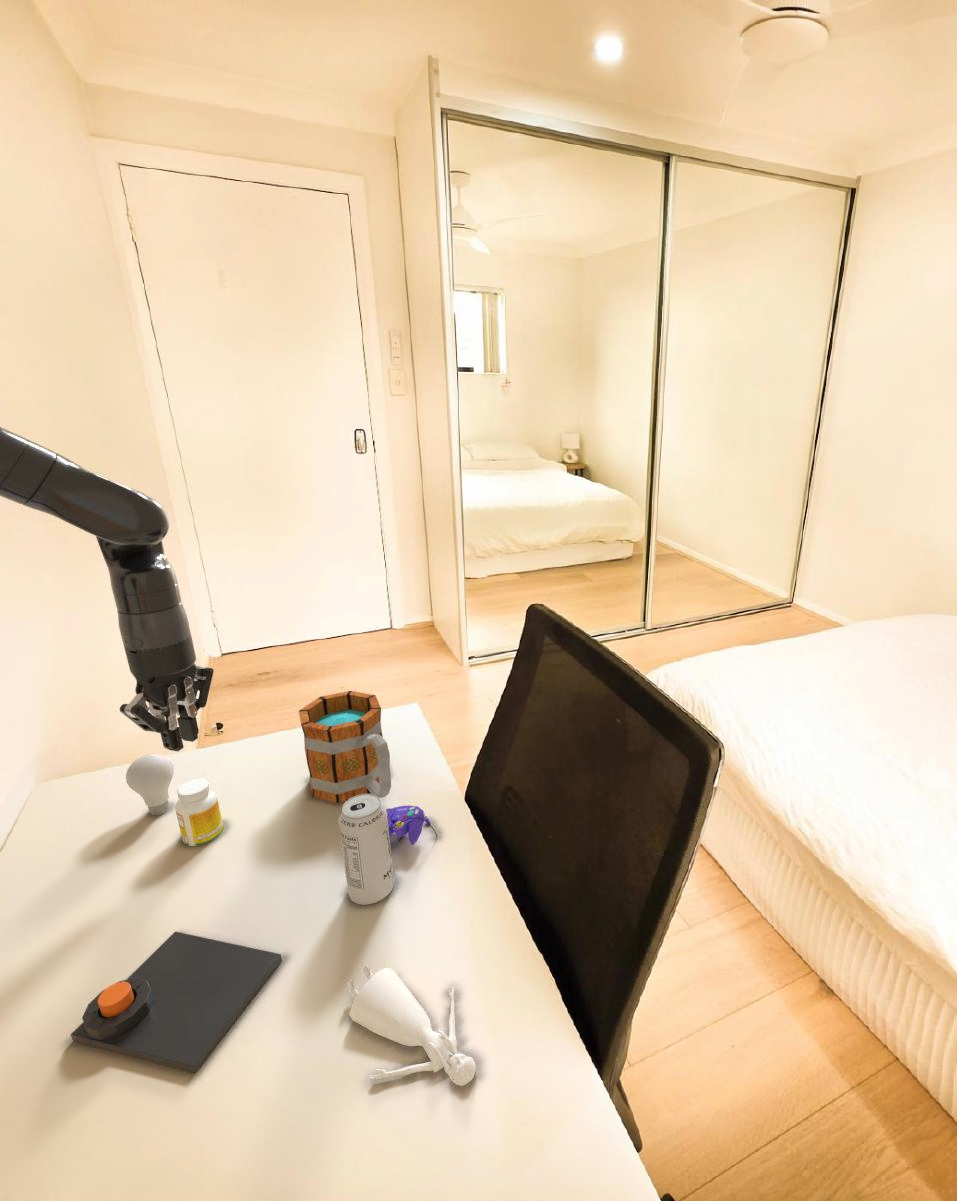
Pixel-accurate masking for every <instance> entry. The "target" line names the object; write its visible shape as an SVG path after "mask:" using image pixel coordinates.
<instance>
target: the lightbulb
mask: <svg viewBox="0 0 957 1201" xmlns="http://www.w3.org/2000/svg"><path fill="white" fill-rule="evenodd" d="M174 774H175V767H174V763H173V762H172V761H171V760H170V758H168V757H167V756H165V755H164V754H158V753H150V754H145V755H143V756H140V757H138V758H136V760H134V761H132V763H131V764H130V765H129V767H128V769H127V770H126V773H125V780H126V784H127V786H128V787H129V788H130V789H131V790H132V791H134V792H135V793H136V794H138V795H139V796H140V797H141V798H142V799H143V801H144V804H145V806H147V808H148V810H149V813H150V815H151V816H160V815H163V814H165V813H166V812H168V811H169V810H170V802H169V798H170V793H169V789H170V784H171V782H172V780H173V777H174Z"/></svg>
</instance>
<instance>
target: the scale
mask: <svg viewBox="0 0 957 1201" xmlns="http://www.w3.org/2000/svg"><path fill="white" fill-rule="evenodd" d="M282 958H283V957H282V954H281V953H277V952H272V951H267V950H263V949H259V948H254V947H250V946H245V945H239V944H235V943H230V942H226V941H221V940H217V939H212V938H207V937H203V936H198V935H193V934H189V933H184V932H180V931H174V932H173V933H172V934H171V935H170V936H169V937H168V938H167V939H166V940H165V941H164V942H163V943H162V944H160V946H159V947H157V949H156V950H155V951H153V952H152V953H151V955H150V956H149V957H147V958H146V959H145V960H144V962H143V963H141V965H139V967H137V969H135V971H133V972H132V973H131V975H129V976H128V977H127V978H126V979H123V980H119V981H117V982H116V983H118V982H128V983H129V984H130V986H131V989H132V992H133V995H134V1000H133V1003H132V1004H131V1006H130V1007H129V1008H128V1009H127V1010H126V1011H124V1012H122V1013H121V1014H119V1015H117V1016H115V1017H110V1018H107V1017H104V1016H103V1015H102V1014H101V1011H100V1008H99V1005H98V998H99V996H100V995H101V993H102V992H103V991H104V990H105V989H107V988H108V987H106V988H105V989H103V990H102V991H100V992H99V994H97V995H96V996H95V997H94V998H93V999H92V1000H90V1002H89V1003H88V1005H87V1007H86V1008H85V1010H84V1013H83V1015H82V1016H81V1017H82V1018H81V1019H82V1021H83V1022H81V1024H80V1025H79V1026H77V1028H76V1029H74V1030H73V1031H72V1032H71V1033H70V1037H71V1040H72V1042H73V1043H75V1044H80V1045H84V1046H87V1047H90V1048H91V1047H92V1048H95V1049H99V1050H103V1051H106V1052H111V1053H114V1054H118V1055H122V1056H126V1057H129V1058H134V1059H137V1060H142V1061H145V1062H149V1063H153V1064H157V1065H159V1066H160V1065H161V1066H164V1067H168V1068H172V1069H176V1070H179V1071H180V1070H181V1071H183V1072H188V1073H190V1074H196V1073H198V1070H199V1069H200V1068H201V1067H202V1066H203V1064H204V1063H205V1061H206V1060H207V1059H208V1058H209V1056H210V1055H211V1054H212V1052H214V1050H215V1048H216V1047H217V1046H218V1045H219V1044H220V1042H221V1041H222V1040H223V1038H224V1037H225V1036H226V1035H227V1033H228V1032H229V1031H230V1029H231V1028H232V1027H233V1026H234V1024H235V1023H236V1021H237V1020H238V1019H239V1018H240V1016H241V1015H242V1014H243V1012H244V1011H245V1010H246V1009H247V1007H248V1006H249V1005H250V1003H251V1002H252V1001H253V999H254V998H255V997H256V996H257V994H258V993H259V992H260V991H261V989H262V988H263V986H264V985H265V984H266V983H267V982H268V980H269V979H270V977H271V976H272V975H273V973H274V972H275V971H276V970H277V968H278V967H279V966H280V964H281V963H282V962H283V959H282Z"/></svg>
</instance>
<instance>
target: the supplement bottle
mask: <svg viewBox="0 0 957 1201" xmlns="http://www.w3.org/2000/svg"><path fill="white" fill-rule="evenodd" d="M176 793H177V798H178V800H177V802H176V803H175V807H174V808H175V814H176V818H177V823H178V827H179V832H180V835H181V840H182V842H183V844H184V845H186V846H189V847H196V846H202V845H205V844H207V843H208V844H209V843H210V842H212V841H215V839H217V838H218V837H220V836H221V834H222V833H223V831H224V824H223V819H222V814H221V813H222V812H221V809H220V804H219V799H218V795H217V793H216V792H215V791H214V790H212V789H211V785H210V782H209V781H208V780H207V779H205V778H194V779H191V780H188V781H186V782H184V783H183V784H181V785H180V786H179V787H178V788H177V791H176Z"/></svg>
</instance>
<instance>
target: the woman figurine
mask: <svg viewBox="0 0 957 1201" xmlns="http://www.w3.org/2000/svg"><path fill="white" fill-rule="evenodd" d="M363 972H364V975H365V977H366V978H367V979H368V980H367V981H366V982H365V983H364V985H362V987H361V988H360V989H357V988H356V986H355V984H354V981H353V979H350V980H349V981H348V982H347V983H346V984H347V985H346V987H347V990H348V992H349V994H351V996H353V998H354V999H353V1001H352V1005H351V1007H350V1010H349V1012H348V1016H349V1017H350V1019H351V1020H352V1021H353V1022H355V1023H356V1024H358V1025H360V1026H362V1027H363V1028H365V1029H367V1030H369V1031H370V1032H371V1033H374V1034H376V1035H379V1036H381V1037H383V1038H385V1039H388V1040H390V1041H392V1042H395V1043H397V1044H401V1045H403V1046H407V1047H422V1048H423V1049H424V1051H425V1053H426V1055H427V1057H428V1058H429V1061H427V1062H424V1063H423V1062H422V1063H418V1064H412V1065H408V1066H404V1067H402V1068H399V1069H395V1070H389V1071H387V1070H385V1069H383V1068H376V1071H378V1073H377V1074H370V1076H369V1079H372V1080H380V1079H383V1078H390V1077H395V1076H404V1075H412V1074H414V1073H422V1072H433V1074H435V1073H437V1072H438V1071H440V1070H442V1069H443V1070H444V1072H445V1074H447V1075H448V1077H449V1078H450V1081H452V1083H454V1084H455V1085H456V1086H461V1087H463V1086H465V1085H468V1084H469V1083H470V1082H471V1081H472V1080H473V1079H474V1076H475V1074H476V1072H477V1065H476V1063H475V1059H473V1057H472V1056H467V1055H465V1054H463V1053H461V1052H459V1051H458V1044H459V1041H457V1037H456V1018H455V989H454V985H452V987H451V989H448V993H449V994H448V995H449V998H450V1014H449V1019H448V1036H447V1035H446V1034H445V1032H444V1031H442V1030H439V1029H438V1030H437V1031H438V1032H437V1031H433V1027H432V1024H431V1023H432V1022H431V1019H430V1017H429V1016H428V1014H427V1012H426V1011H425V1009H424V1008H423V1007H422V1005H421V1004H420V1003H419V1001H418V1000H417V999H416V997H415V996H414V995H413V993H412V992H411V990H410V989H409V988H408V987H407V986H406V984H405V983H404V982H403V980H402V979H401V977H400V976H399V975H398V974H397V972H396V971H395V970H394V969H392V968H391V967H389V966H387V967H385V968H381V969H380V970H378V971H377V972H375V973H374V974H373V972H372V970H371V969H370V966H369V964H366V966H364V967H363Z"/></svg>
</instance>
